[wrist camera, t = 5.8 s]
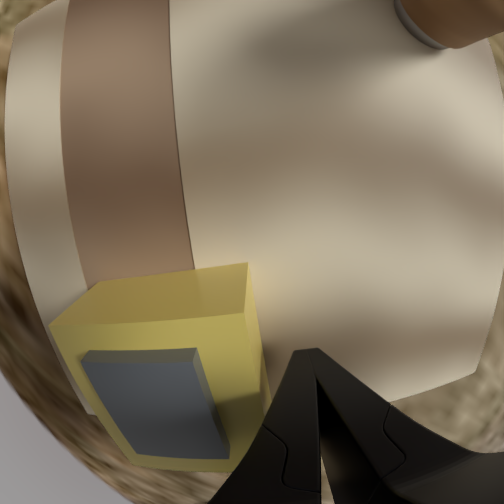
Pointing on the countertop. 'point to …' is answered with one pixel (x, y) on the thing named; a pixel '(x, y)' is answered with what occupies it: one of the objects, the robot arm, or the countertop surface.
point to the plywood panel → (266, 172)
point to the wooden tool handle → (451, 21)
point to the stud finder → (171, 365)
